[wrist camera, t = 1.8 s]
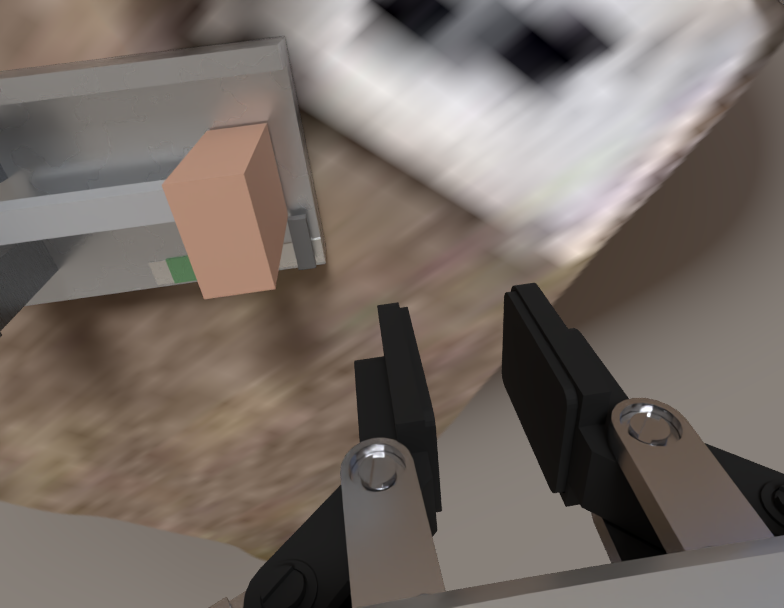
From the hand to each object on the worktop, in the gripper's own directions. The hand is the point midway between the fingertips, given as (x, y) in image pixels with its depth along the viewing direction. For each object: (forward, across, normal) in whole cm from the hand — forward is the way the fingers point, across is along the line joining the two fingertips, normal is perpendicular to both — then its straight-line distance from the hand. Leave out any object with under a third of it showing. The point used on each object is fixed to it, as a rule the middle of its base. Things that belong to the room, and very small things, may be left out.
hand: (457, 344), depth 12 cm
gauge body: (+19, +14, 0) cm, 23 cm away
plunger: (+16, +13, +2) cm, 21 cm away
